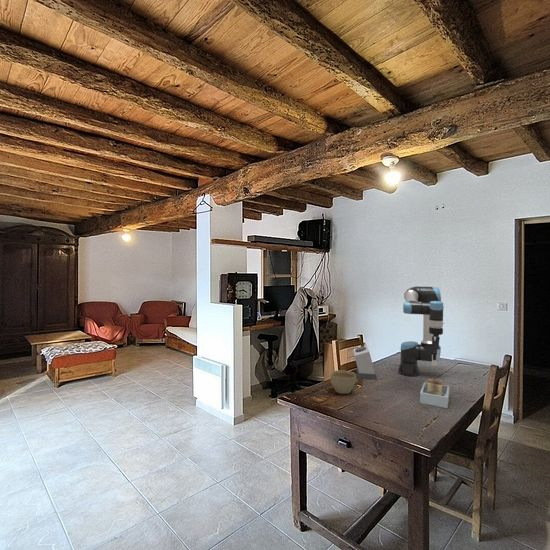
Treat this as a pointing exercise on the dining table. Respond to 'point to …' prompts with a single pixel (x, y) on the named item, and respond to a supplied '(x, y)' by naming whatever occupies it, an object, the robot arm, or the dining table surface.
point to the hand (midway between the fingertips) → (435, 362)
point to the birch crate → (435, 387)
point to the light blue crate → (434, 397)
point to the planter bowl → (343, 381)
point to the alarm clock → (364, 364)
